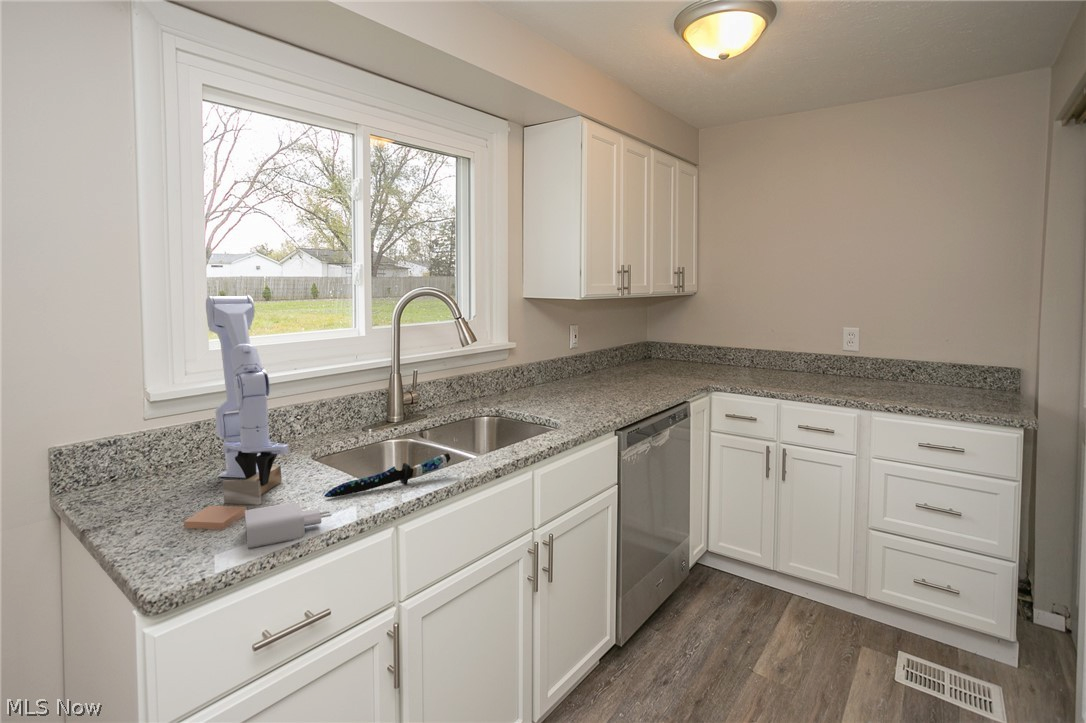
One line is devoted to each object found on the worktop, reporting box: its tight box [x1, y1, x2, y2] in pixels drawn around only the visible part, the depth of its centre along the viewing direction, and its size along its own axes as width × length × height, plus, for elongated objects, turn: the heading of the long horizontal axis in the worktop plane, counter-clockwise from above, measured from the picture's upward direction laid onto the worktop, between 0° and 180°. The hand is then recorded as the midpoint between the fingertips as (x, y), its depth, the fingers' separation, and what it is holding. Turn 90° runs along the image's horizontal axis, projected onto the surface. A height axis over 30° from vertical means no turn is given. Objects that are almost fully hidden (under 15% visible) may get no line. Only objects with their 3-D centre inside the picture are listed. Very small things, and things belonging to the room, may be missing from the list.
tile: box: [183, 505, 248, 530], centre depth 117 cm, size 2×8×8 cm
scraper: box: [222, 465, 283, 506], centre depth 132 cm, size 14×8×5 cm, turn 175°
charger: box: [244, 502, 332, 550], centre depth 112 cm, size 5×9×15 cm
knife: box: [324, 453, 451, 498], centre depth 137 cm, size 31×3×4 cm, turn 120°
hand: (258, 484), depth 132 cm, fingers closed on scraper, 2 cm apart
